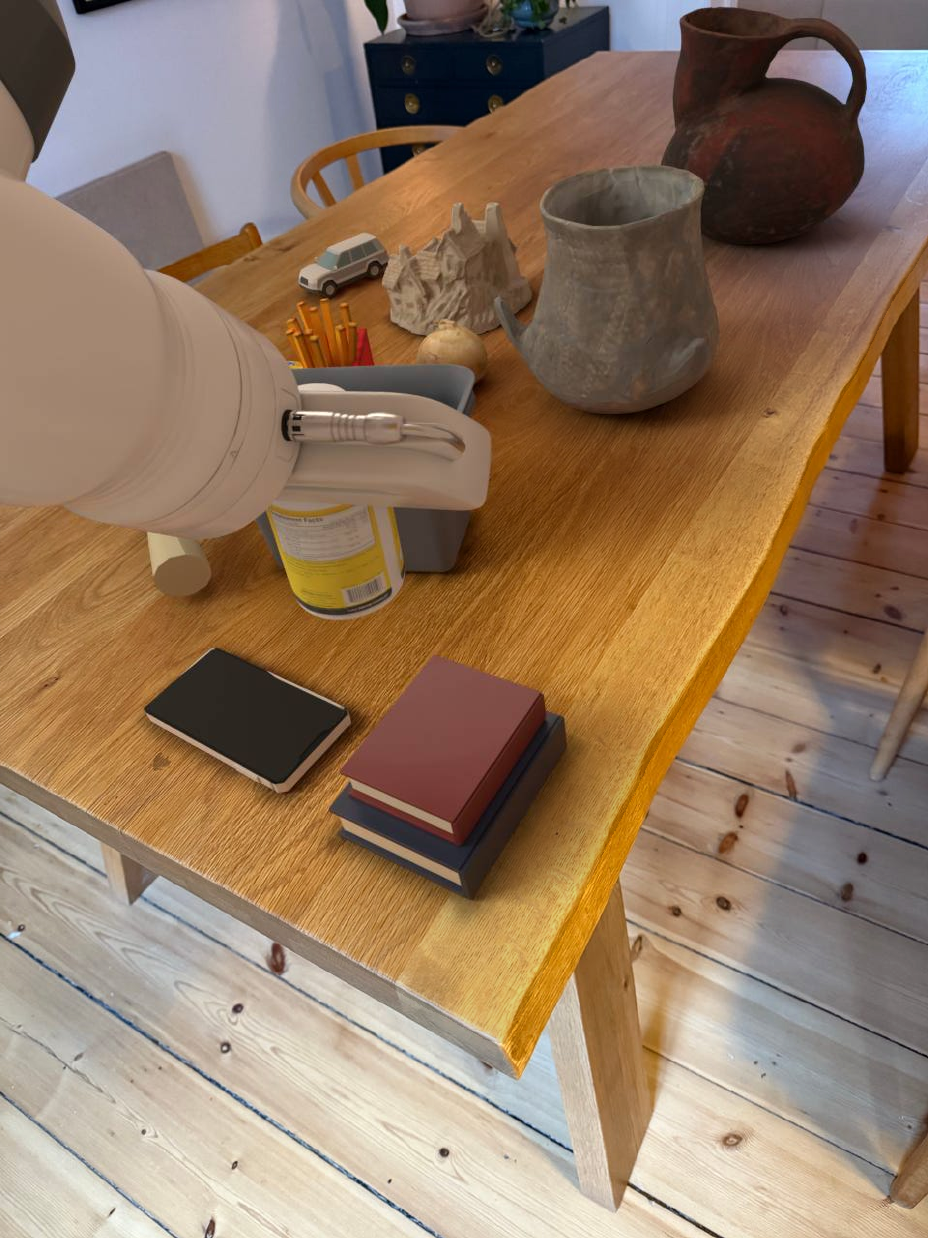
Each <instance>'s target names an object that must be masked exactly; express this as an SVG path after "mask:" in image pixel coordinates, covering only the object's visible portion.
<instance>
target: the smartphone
mask: <svg viewBox="0 0 928 1238" xmlns="http://www.w3.org/2000/svg"><path fill="white" fill-rule="evenodd" d="M143 710H144V712H145V714H146V716H147V717H148V719H149V721H150V722H151V723H153V724H154V725H157V726H158V727H161V728H162V729H163V730H166V731H168V732H170V733H171V734H173V735H175V736H176V737H179V739H182V740H183V741H185V742H187V743H189V744H190V745H192V746H194V747H196V748H198V749H200V750H201V751H203V752H205V753H207V754H208V755H209V756H212V757H214V758H215V759H217V760H219V761H221V762H223V763H224V764H226V765H228V766H230V767H232V768H233V769H235V770H236V771H237V772H238V773H239V774H242V775H244V776H246V777H248V778H249V779H251V780H252V781H254V782H256V783H260V784H262V785H263V786H265V787H267V788H269V789H271V790H273V792H276V793H278V794H281V793H282V794H283V793H286V792H289V791H290V790H291V789H292V788H293V786H295V785H296V784H297V782H298V781H300V779H301V778H302V777H303V776H304V775H305V774H306V773H307V771H309V770H310V768H311V767H312V766H313V765H314V764H315V763H316V762H317V761H318V760H319V758H320V757H321V756H322V755H323V754H324V753H325V752H327V750H328V749H329V748H330V747H331V746H332V745H333V743H334V742H335V741H336V740H337V739H338V738H339V737H340V736H341V735H342V734H343V733H344V732H345V730H347V728H349V726H350V725H351V724H352V720H351V715H350V713H349V711H348V708H347V707H345V706H343V705H342V704H341V705H340V704H339V703H336V702H334V701H333V700H331V699H329V698H327V697H325V696H323V695H320V694H318V693H316V692H314V691H312V690H310V689H307V688H306V687H302V686H301V685H298V684H296V683H294V682H292V681H290V680H289V679H286V678H283V677H281V676H280V675H277V674H275V673H273V672H271V671H268V670H267V669H265V668H262V667H260V666H258V665H256V664H253V663H252V662H249V661H247V660H245V659H243V658H241V657H238V656H237V655H235V654H232V653H231V652H228V651H226V650H224V649H222V648H220V647H211V648H209V649H208V650H207V651H206V652H205V653H204V654H203V655H202V656H200V657H199V658H198V659H197V660H195V662H194V663H193V664H191V665H190V666H189V667H188V668H187V669H186V670H185V671H183V672H182V673H181V674H180V675H179V676H177V678H175V680H173V681H172V682H171V683H169V685H168V686H166V687H165V688H164V689H163V690H162V691H161V692H160V693H159V694H157V696H155V697H154V698H153V699H152V700H151V701H150V702H148V703H147V704H146V705H145V706H144V707H143Z"/></svg>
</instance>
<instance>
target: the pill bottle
mask: <svg viewBox="0 0 928 1238" xmlns="http://www.w3.org/2000/svg"><path fill="white" fill-rule="evenodd" d="M298 390H304V391H345V390H344V389H342V388H340V387H338V386H335V385H331V384H325V383H312V384H304V385H299V386H298ZM266 512H267V515H268V518H269V521H270V525H271V528H272V531H273V533H274V537H275V540H276V543H277V546H278V549H279V552H280V555H281V558H282V561H283V564H284V567H285V568H284V570H285V572H286V575H287V579H288V582H289V584H290V587H291V590H292V594H293V595H294V598H295V600H296V602H297V603H298V604H299V605H300V607H301V608H302V609H303V610H305V611H306V612H307V613H309V614H311V615H313V616H315V617H318V618H321V619H325V620H331V621H346V620H347V621H348V620H352V619H358V618H362V617H364V616H367V615H370V614H373V613H374V612H377V611H378V610H380V609H382V608H383V607H385V606H387V604H389V603H391V601H392V600H393V599H395V597H396V596H397V595H398V593H399V592H400V590H401V589H402V586H403V584H404V581H405V579H406V577H405V576H406V571H405V565H404V559H403V554H402V549H401V544H400V539H399V534H398V529H397V524H396V519H395V514H394V509H393V507H386V506H368V505H350V504H331V503H313V502H295V501H277V500H275V501H274V502H273V503H272V504H271V505H270V506H269V507H268V508H267V509H266Z"/></svg>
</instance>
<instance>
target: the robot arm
mask: <svg viewBox="0 0 928 1238" xmlns="http://www.w3.org/2000/svg"><path fill="white" fill-rule="evenodd" d="M76 65H77V64H76V59H75V55H74V52H73V48H72V45H71V41H70V38H69V34H68V31H67V26H66V23H65V21H64V17H63V15H62V12H61V9H60V7H59V4H58V1H57V0H0V505H2V506H9V507H17V508H27V509H29V508H47V507H55V506H61V507H63V508H64V509H66V510H67V511H69V512H71V513H73V514H75V515H77V516H79V517H81V518H84V519H86V520H89V521H92V522H96V523H100V524H105V525H110V526H114V527H121V528H126V529H131V530H135V531H141V532H146V533H147V532H152V533H157V534H162V535H168V536H173V537H178V538H185V539H197V541H199V540H208V539H209V540H211V539H215V538H221V537H223V536H227V535H229V534H232V533H235V532H236V531H237V532H238V531H239V530H241V529H243V528H245V527H246V526H248V525H249V524H251V523H252V522H253V521H256V520H255V519H256V518H258V517H259V516H260V515H261V514H262V513H263V512H264V511H265V510H266V509H267V508H268V507H269V506H270V505H271V504H272V503H273V502H274V501H275V500H277V501H295V502H313V503H331V504H350V505H368V506H386V507H404V508H422V509H440V510H470V511H472V510H476V509H478V508H482V506H483V505H484V504H485V502H486V500H487V497H488V492H489V484H490V475H491V465H492V437H491V433H490V432H489V430H488V429H487V428H486V427H485V426H483V424H481V423H479V422H478V421H476V420H474V419H473V418H472V417H470V418H469V417H468V416H466V415H464V414H462V413H461V412H459V411H457V410H455V409H453V408H451V407H449V406H448V405H445V404H443V403H441V402H438V401H435V400H433V399H429V398H426V397H422V396H417V395H411V394H404V393H394V392H363V391H304V390H298V386H297V383H296V380H295V378H294V375H293V373H292V371H291V369H290V367H289V365H288V363H287V361H288V360H286V358H285V357H284V355H283V353H282V352H281V351H280V350H279V349H278V347H277V346H276V345H275V344H274V343H273V342H272V341H271V340H270V339H268V338H267V337H266V336H265V335H264V334H263V333H261V332H259V330H257V329H256V328H253V327H252V326H251V325H249V324H248V323H246V322H245V321H243V320H242V319H240V318H238V317H237V316H235V314H232V313H231V312H229V311H228V310H226V309H224V308H223V307H221V306H220V305H219V304H217V303H215V302H214V301H212V300H211V299H209V298H208V297H207V296H205V295H204V294H202V293H201V292H199V291H197V290H196V289H194V288H192V287H191V286H190V285H188V284H187V283H185V282H183V281H181V280H179V279H178V278H175V277H173V276H171V275H168V274H165V273H163V272H160V271H156V270H152V269H148V268H147V269H146V268H144V267H143V266H142V265H141V263H140V262H139V261H138V259H137V258H136V257H135V256H134V254H132V253H131V252H130V251H129V250H128V249H127V248H126V247H125V246H124V244H123V243H121V241H119V240H118V239H117V238H115V236H113V235H112V234H111V233H109V232H108V231H106V230H105V229H103V228H102V227H101V226H99V225H98V224H96V223H94V222H93V221H91V220H89V219H88V218H87V217H86V216H83V215H82V214H81V213H79V212H77V211H75V210H73V209H72V208H70V207H69V206H67V205H65V203H63V202H60V201H59V200H57V199H55V198H54V197H53V196H51V195H49V194H48V193H46V192H44V191H42V190H41V189H39V188H37V187H35V186H33V185H32V184H30V183H29V182H26V181H27V178H28V175H29V172H30V168H31V165H32V164H34V163H35V162H36V161H37V160H38V158H39V157H40V155H41V152H42V149H43V147H44V145H45V142H46V140H47V138H48V136H49V134H50V131H51V129H52V127H53V124H54V121H55V119H56V117H57V115H58V112H59V111H60V108H61V106H62V104H63V101H64V99H65V96H66V94H67V91H68V89H69V86H70V85H71V83H72V80H73V77H74V75H75V74H76V73H75V72H76V67H77V66H76Z"/></svg>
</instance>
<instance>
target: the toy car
mask: <svg viewBox="0 0 928 1238" xmlns="http://www.w3.org/2000/svg"><path fill="white" fill-rule="evenodd" d="M389 259H390V255H389V254H388V252H387V249H386V247H385V245H383V244H382V242H380V240H379V238H377V236H375V235H373V234H371V233H368V232H362V233H361V232H360V234H356V235H354V236H351V237H350V238H347V239H345V240H342V241H339V242H337V243H334V244H332V245H329V246H328V247H327V248H326V249H325V250H324V252H323V253H322V255H321V256H320V258H319V259H318V257H317V256H315V261H316V263H315V262H314V263H311V264H308V265H307V266H304V267H303V268H302V269H300V271H299V273H298V286H299V288H301V289H303V290H304V291H307V292H308V293H310V294H313V295H314V294H315V295H321V296H323V297H325V298H326V299H327V298H328V299H330V298H331V299H332V298H333V297H334V296H335V295H336V293H337V289H340V288H342V287H345V286H347V285H349V284H352V283H354V282H357V281H359V280H361V279H364V278H366V277H368V278H370V279H371V280H373V279H377V278H378V277H379V276H380V274H381V272H382V270H384V269H385V268H387V266H388V261H389Z"/></svg>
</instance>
